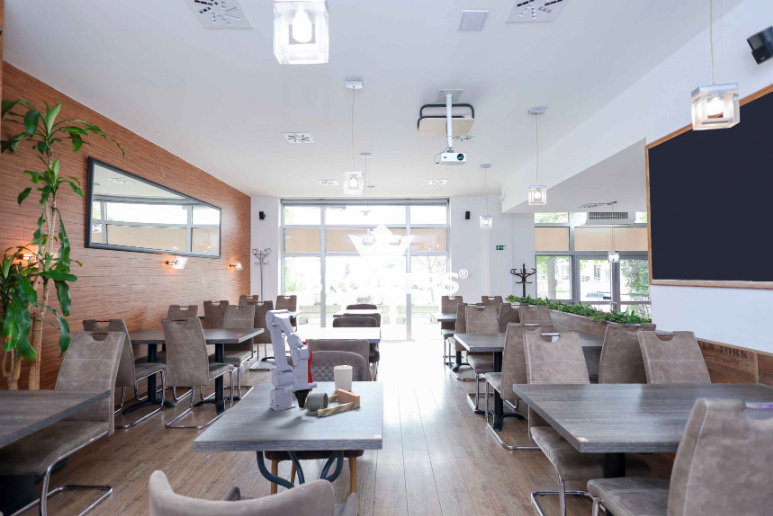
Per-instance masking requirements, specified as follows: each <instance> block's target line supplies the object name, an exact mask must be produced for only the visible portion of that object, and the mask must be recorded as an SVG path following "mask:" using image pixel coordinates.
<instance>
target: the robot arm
mask: <svg viewBox="0 0 773 516" xmlns="http://www.w3.org/2000/svg"><path fill="white" fill-rule="evenodd" d="M265 324H266V328H267V330H268V331H269V335H270V340H271V346H272V350H273V357H274V362H275V367H274V369H272V370H271V378H270V379H271V381H270V382H271V385H272V387H273V388H272V389H270V391H269V406H268V407H269V408H270V409H272V410H274V411H276V412H279V411H283V410H286V409H292V408H296V405H295V404H294V403H293V394H294V396H295V398H296V401H297V404H298V408H300V409H302V408H303V409H305V408H304V404H305V401H306V400H307V397H308V395H309V394H310V390H312V389H317V388H318V382H313V383H308V359H309V358H310V349H311V348H310V347H309V346H308V345H307V346H306V345H304V344H303V343H302V341H303V340H302V339H301V337H300V335H299V334H298V333H295V331H294V329H293V326H292V324H291V313H290V311H289V310H288V309H287V308H285V309H276V310H271V309H269V310H268V311H267V312H266V313H265ZM282 331H283V332H284V334H285V336H286V343H287V344H288V347H289V349H290V350H291V354H290V355H291V361H292V360H293V361H292V364H293V366H291V365H290V364H288V359H287V354H286V349H285V344H284V339H283V333H282ZM309 348H310V349H309ZM293 384H294V385H293ZM311 388H312V389H311ZM308 389H310V390H308Z"/></svg>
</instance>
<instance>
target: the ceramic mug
mask: <svg viewBox="0 0 773 516" xmlns="http://www.w3.org/2000/svg"><path fill="white" fill-rule="evenodd" d="M328 396H329V395H328V393H327V392H317V393H316V392H313V393H309V394H308V396H307V398H306V406H307V408H306V411H307V414H308V415H309V414H310V416H316V415H318V410H321V409H326V408H329V403H328Z"/></svg>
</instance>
